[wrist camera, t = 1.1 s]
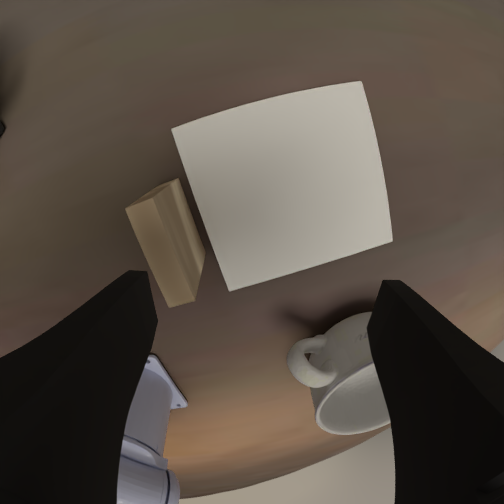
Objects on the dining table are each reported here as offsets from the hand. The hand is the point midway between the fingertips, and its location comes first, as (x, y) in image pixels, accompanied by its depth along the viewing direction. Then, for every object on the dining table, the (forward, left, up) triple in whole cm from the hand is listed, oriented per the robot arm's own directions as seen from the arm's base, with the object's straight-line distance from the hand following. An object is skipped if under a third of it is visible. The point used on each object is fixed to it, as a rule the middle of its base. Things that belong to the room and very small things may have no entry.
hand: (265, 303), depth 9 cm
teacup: (+5, -15, -14) cm, 21 cm away
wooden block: (-5, 0, -13) cm, 14 cm away
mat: (+4, 0, -13) cm, 14 cm away
